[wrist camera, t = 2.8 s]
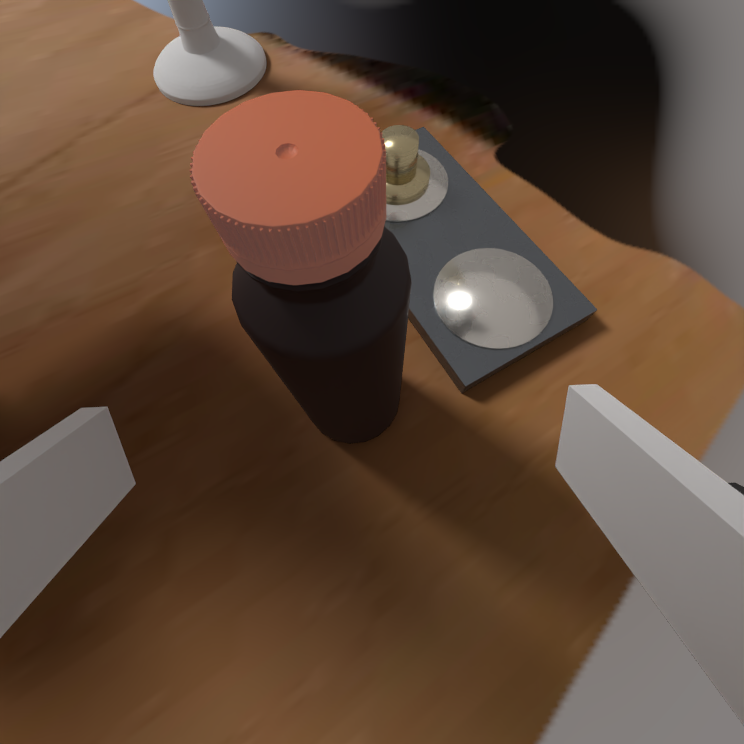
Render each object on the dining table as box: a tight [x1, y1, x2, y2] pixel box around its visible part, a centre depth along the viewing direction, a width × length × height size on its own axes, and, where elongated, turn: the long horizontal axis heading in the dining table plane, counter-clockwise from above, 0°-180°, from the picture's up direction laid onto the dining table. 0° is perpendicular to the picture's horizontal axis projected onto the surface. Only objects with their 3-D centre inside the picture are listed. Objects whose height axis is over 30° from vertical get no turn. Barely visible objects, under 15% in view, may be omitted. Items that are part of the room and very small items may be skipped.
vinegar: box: [190, 90, 412, 443], centre depth 18 cm, size 7×7×20 cm
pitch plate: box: [382, 125, 597, 393], centre depth 30 cm, size 24×12×6 cm, turn 30°
